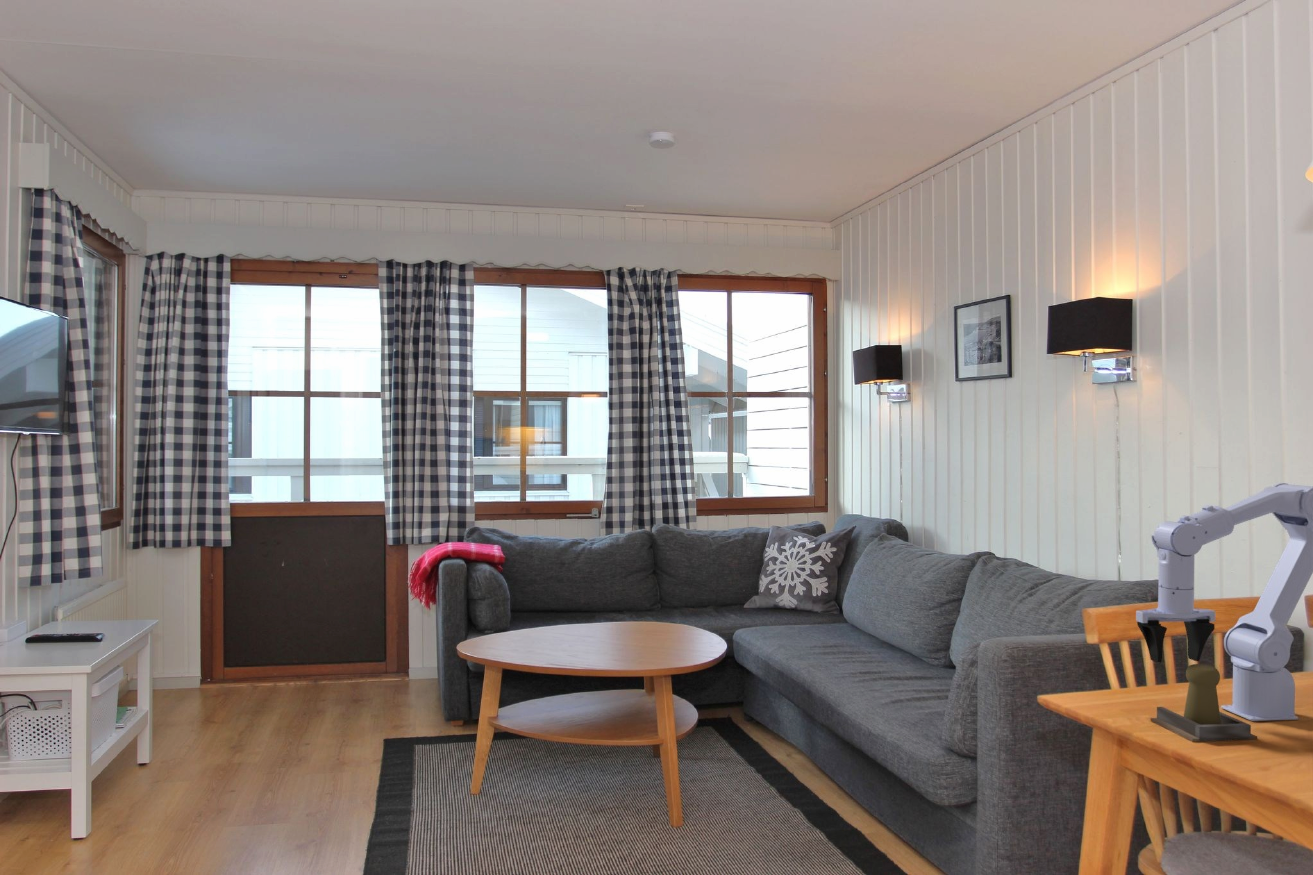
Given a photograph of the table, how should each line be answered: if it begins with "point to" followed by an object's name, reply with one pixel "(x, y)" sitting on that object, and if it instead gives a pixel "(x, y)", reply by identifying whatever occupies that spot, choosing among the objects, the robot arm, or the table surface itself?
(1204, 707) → the olive rounded tapered post
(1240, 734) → the shaker socket
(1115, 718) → the table surface
